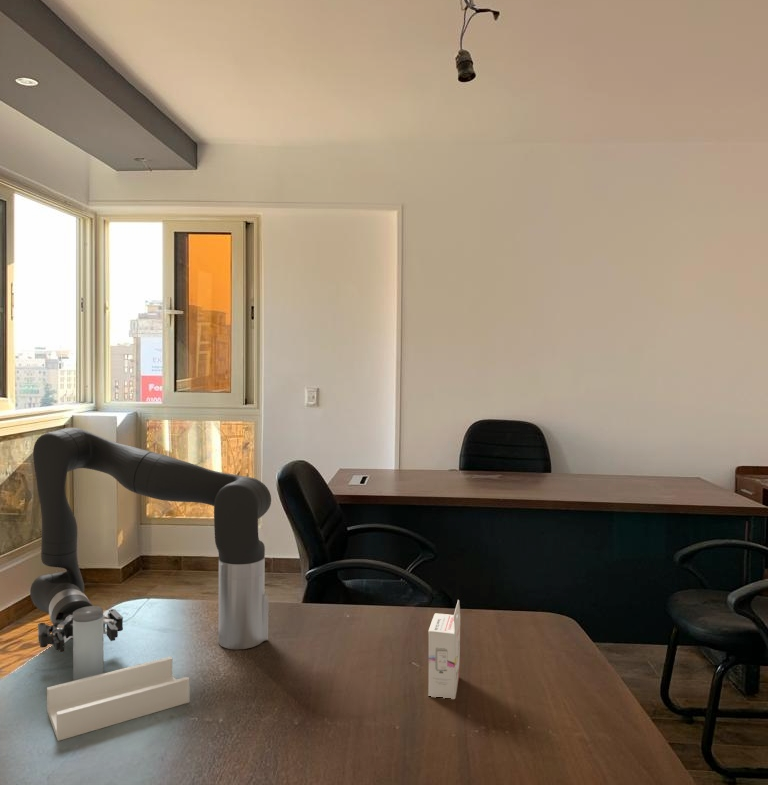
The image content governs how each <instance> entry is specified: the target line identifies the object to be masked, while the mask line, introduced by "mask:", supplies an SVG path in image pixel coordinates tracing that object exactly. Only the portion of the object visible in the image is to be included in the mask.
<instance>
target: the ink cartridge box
mask: <svg viewBox="0 0 768 785" xmlns="http://www.w3.org/2000/svg"><path fill="white" fill-rule="evenodd" d="M427 632H428V633H427V634H428V692H427V693H428V694H427V697H428V696H431V697H430V698H436V697H443V698H442V699H445V698H451V699H450V700H456V698H457V692H458V684H459V678H460V656H461V655H460V651H461V650H460V649H461V648H460V647H461V644H460V643H461V606H460V600H459V599H457V603H456V606H455V610H454V614H446V613H437V612H436V613H434V614H433V617H432V619H431V623H430V626H429V628H428V631H427Z"/></svg>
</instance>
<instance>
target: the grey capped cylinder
mask: <svg viewBox="0 0 768 785" xmlns="http://www.w3.org/2000/svg"><path fill="white" fill-rule="evenodd" d="M103 615H104V608H103V607H102V606H97V605H93V606H88V607H83V608H79V609H77V610H75V611H74V612H73V639H72V679H73V680H72V681H75V680H79V679H83V678H87V677H91V676H95V675H99V674H103V673H105V672H104V671H105V668H104V657H105V656H104V634H103Z"/></svg>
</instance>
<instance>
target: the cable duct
mask: <svg viewBox="0 0 768 785" xmlns="http://www.w3.org/2000/svg"><path fill="white" fill-rule="evenodd" d="M189 703H190V678H189V676H184V677H181V678H177V679H176V678H175V677H174V675H173V658H172V656H167V657H162V658H160V659H155V660H151V661H148V662H144V663H143V662H142V663H140V664H136V665H132V666H128V667H125V668H120V669H116V670H112V671H108V672H104V673H103V674H99V675H95V676H91V677H87V678H83V679H79V680H75V681H74V680H72V681H68V682H64V683H59V684H55V685H52V686H48V687H46V713H47V715H48V718H49V720H50V723H51V726H52V729H53V732H54V734H55V737H56V740H57V742H58V741H59V742H60V741H62V740H66V739H69V738H73V737H77V736H79V735H83V734H86V733H89V732H93V731H96V730H100V729H104V728H107V727H110V726H115V725H117V724H120V723H124V722H128V721H131V720H133V719H137V718H140V717H144V716H147V715H151V714H154V713H157V712H162V711H165V710H167V709H170V708H174V707H178V706H181V705H182V706H183V705H185V704H189Z"/></svg>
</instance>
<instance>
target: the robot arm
mask: <svg viewBox="0 0 768 785" xmlns="http://www.w3.org/2000/svg"><path fill="white" fill-rule="evenodd" d="M32 450H33V451H32V454H33V455H32V457H33V458H32V459H33V466H34V475H35V481H36V486H37V487H36V488H37V492H38V494H37V495H38V500H39V505H40V515H41V548H40V549H41V550H40V558H41V559H40V560H41V563H42V564H44V565H45V566H46V567H51V568H60V569H65V570H66V571H61V572H54V573H47V574H43V575H39V576H38V577H36V578H35V579H34V580H33V582H32V583H31V586H30V592H29V595H30V599H31V601H32V604H33V605H34V606H35V607H36V608H37V609H38V610H40V611H42V612H45V613H46V614H48V615H49V620H50V622H51V624H52V625H49V624H46V622H41V623H38V624H37V637H38V638H37V639H38V642H39V646H40V648H47V647H48V646H49V645H51V647H53V649H54V651H59V653H64V652H65V644H66V642H68V641H69V640H70V639H71V640H73V612H74V611H75V610H77V609H79V608H83V607H88V606H94V605H93V604H92V602H91V601H90V600H89V598H88V597H87V595H86V594H85V583H84V579H83V575H82V573H81V569H80V565H79V561H78V524H77V520H76V517H75V514H74V513H73V510H72V508H71V506H70V504H69V502H68V498H67V494H66V481H67V477H68V476H67V475H68V473H69V472H72V471H74V470H77V469H78V470H79V469H87V470H94V471H96V472H97V471H98V472H102V473H104V474H106V475H110V476H111V477H113V479H115V480H116V481H117V482H118V483H119V484H120V485H121V486H122V487H124V489H126V490H128V491H130V492H133V493H134V494H137V495H140V496H144V497H147V498H151V499H155V500H159V501H165V502H179V503H200V504H205V505H209V506H212V507H213V521H214V522H213V523H214V527H213V528H214V529H213V530H214V542H215V547H216V549H217V551H218V631H217V636H218V639H217V640H218V644H219V646H221V647H223V648H225V649H229V650H245V649H250V648H254V647H256V646H257V647H258V645H260V644H262V643H263V642H265V641H268V640H269V594H268V593H266V592H265V579H266V578H265V576H266V575H265V561H266V560H265V559H266V558H265V555H266V554H265V552H266V551H265V550H266V549H265V548H266V546H265V543H264V542H263V541H262V540H260V538H259V537H260V536H259V519H260V518H262V517H263V516H264V515H265V514H266V513H267V512H268V510H269V509H270V507H271V504H272V494H271V492H270V490H269V489H268V487H267V486H266V485H265V483H264V482H262V481H260V480H259V479H257V478H255V477H254V478H253V477H250V476H246V475H245V476H244V475H240V474H239V475H238V474H232V473H226V472H221V471H215V470H212V469H209V468H206V467H203V466H200V465H197V464H193V463H191V462H187V461H184V460H181V459H178V458H175V457H172V456H169V455H166V454H162V453H158V452H154V451H152V450H147V449H143V448H140V447H139V448H138V447H135V446H130V445H127V444H123V443H119V442H117V441H113V440H110V439H107V438H104V437H102V436H100V435H97V434H95V433H92V432H90V431H88V430H85V429H83V428H79V427H65V428H61V429H58V430H57V429H56V430H53V431H49V432H47V433H43V434H42V435H40V436H39V437H38V438H37V440H35V443H34V446H33V449H32ZM123 621H124V617H123V616H122V615H121V614H120V613H119V612H118V610H116V609H113V608H110V609H109V610H108V613H106V614H103V635H106V636H107V637H108V639H109V640H110V642H113V641H116V638H118V637H119V634H118V633H119V632H121V631H123V630H124V627H123V626H124V624H123Z"/></svg>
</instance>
